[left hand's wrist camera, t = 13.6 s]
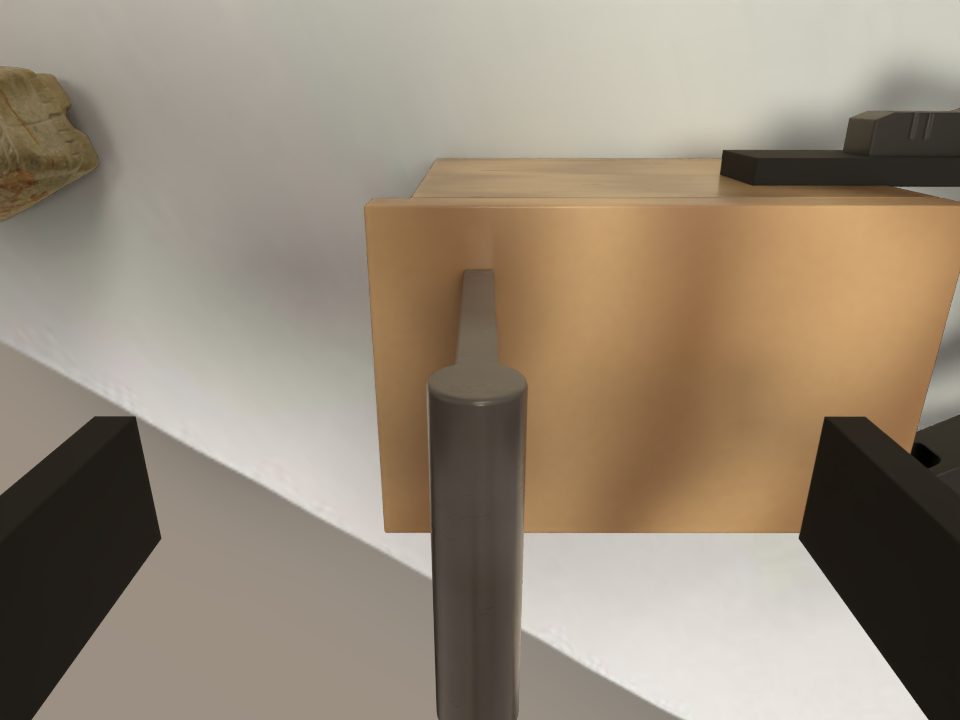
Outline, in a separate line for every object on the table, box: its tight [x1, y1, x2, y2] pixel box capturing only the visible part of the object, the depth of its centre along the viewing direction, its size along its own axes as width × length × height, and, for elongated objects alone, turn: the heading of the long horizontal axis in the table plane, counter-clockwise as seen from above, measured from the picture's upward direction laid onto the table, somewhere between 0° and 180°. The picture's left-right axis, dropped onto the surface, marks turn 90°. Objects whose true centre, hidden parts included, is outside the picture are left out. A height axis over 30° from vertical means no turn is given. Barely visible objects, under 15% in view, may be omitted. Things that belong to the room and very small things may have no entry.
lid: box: [364, 198, 960, 720], centre depth 14 cm, size 14×9×9 cm, turn 90°
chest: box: [411, 158, 939, 198], centre depth 23 cm, size 13×9×10 cm
